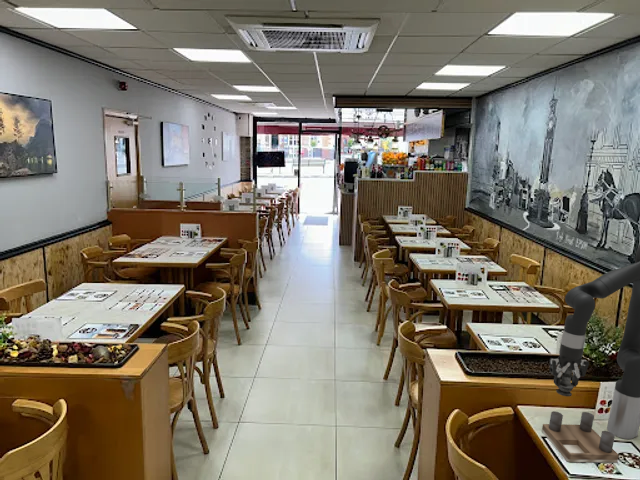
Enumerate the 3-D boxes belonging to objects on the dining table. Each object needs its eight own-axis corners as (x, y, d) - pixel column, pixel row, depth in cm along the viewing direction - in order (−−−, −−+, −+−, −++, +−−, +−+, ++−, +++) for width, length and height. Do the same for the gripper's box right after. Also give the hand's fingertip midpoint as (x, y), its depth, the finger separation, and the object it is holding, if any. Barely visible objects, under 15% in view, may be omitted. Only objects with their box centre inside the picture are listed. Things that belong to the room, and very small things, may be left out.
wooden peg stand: (586, 431, 187) (590, 410, 186) (617, 462, 170) (622, 439, 168) (541, 431, 186) (545, 409, 184) (567, 462, 169) (571, 438, 167)
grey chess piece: (569, 389, 185) (574, 360, 183) (575, 397, 180) (580, 367, 177) (553, 388, 186) (557, 358, 183) (558, 395, 180) (563, 365, 178)
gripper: (585, 340, 182) (578, 381, 186) (548, 338, 182) (541, 380, 185) (597, 348, 175) (589, 391, 179) (558, 347, 174) (551, 390, 178)
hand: (565, 385), depth 182 cm, fingers closed on grey chess piece, 6 cm apart
